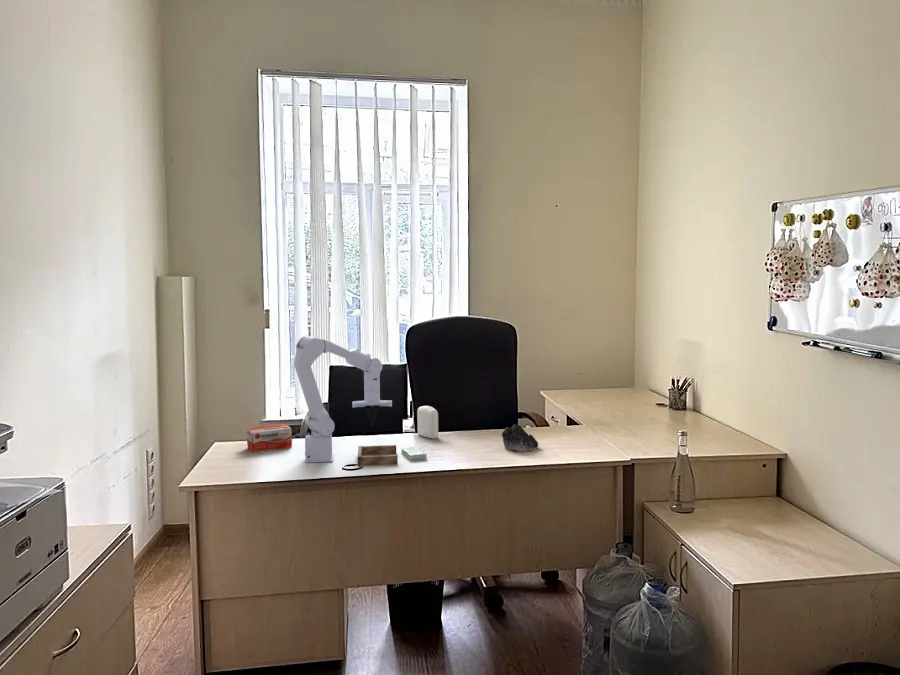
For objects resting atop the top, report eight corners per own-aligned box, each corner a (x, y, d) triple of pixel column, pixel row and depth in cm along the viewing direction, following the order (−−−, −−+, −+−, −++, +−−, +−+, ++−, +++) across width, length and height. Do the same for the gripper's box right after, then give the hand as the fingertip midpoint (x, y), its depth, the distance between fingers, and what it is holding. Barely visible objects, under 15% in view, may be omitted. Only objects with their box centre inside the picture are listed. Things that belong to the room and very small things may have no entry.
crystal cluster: (538, 446, 269) (536, 420, 269) (538, 452, 255) (536, 425, 255) (503, 448, 270) (501, 422, 270) (502, 454, 257) (500, 427, 257)
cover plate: (410, 462, 245) (410, 455, 245) (401, 454, 256) (401, 448, 256) (426, 460, 248) (426, 453, 247) (417, 453, 258) (417, 446, 258)
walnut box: (357, 465, 240) (357, 457, 240) (358, 454, 255) (358, 446, 255) (397, 464, 241) (397, 455, 241) (396, 452, 257) (396, 444, 256)
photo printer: (415, 434, 285) (415, 405, 284) (424, 433, 287) (424, 403, 286) (431, 439, 277) (431, 408, 276) (439, 437, 280) (439, 407, 278)
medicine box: (252, 453, 258) (251, 432, 257) (246, 448, 265) (246, 428, 264) (292, 448, 265) (292, 427, 264) (286, 443, 272) (285, 423, 271)
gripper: (351, 391, 253) (352, 428, 254) (391, 391, 255) (392, 427, 256) (352, 388, 260) (353, 424, 261) (391, 387, 262) (392, 423, 263)
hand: (372, 425), depth 259 cm, fingers closed
